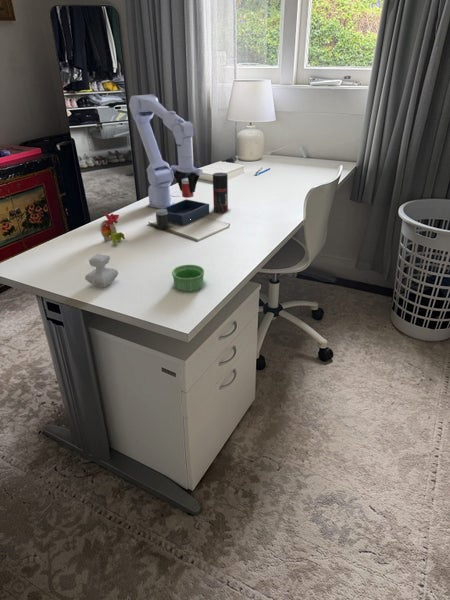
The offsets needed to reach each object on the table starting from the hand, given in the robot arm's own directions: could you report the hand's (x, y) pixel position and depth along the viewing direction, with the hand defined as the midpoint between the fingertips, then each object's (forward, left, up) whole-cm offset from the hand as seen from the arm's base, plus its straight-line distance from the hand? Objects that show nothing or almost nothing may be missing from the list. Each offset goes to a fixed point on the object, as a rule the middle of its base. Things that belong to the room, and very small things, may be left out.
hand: (187, 191), depth 168 cm
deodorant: (+8, +11, -10) cm, 17 cm away
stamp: (+18, -61, -10) cm, 65 cm away
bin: (0, -3, -10) cm, 10 cm away
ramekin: (+39, -48, -10) cm, 63 cm away
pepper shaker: (+1, -17, -10) cm, 20 cm away
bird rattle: (-4, -38, -10) cm, 40 cm away
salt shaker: (0, 0, -2) cm, 2 cm away
